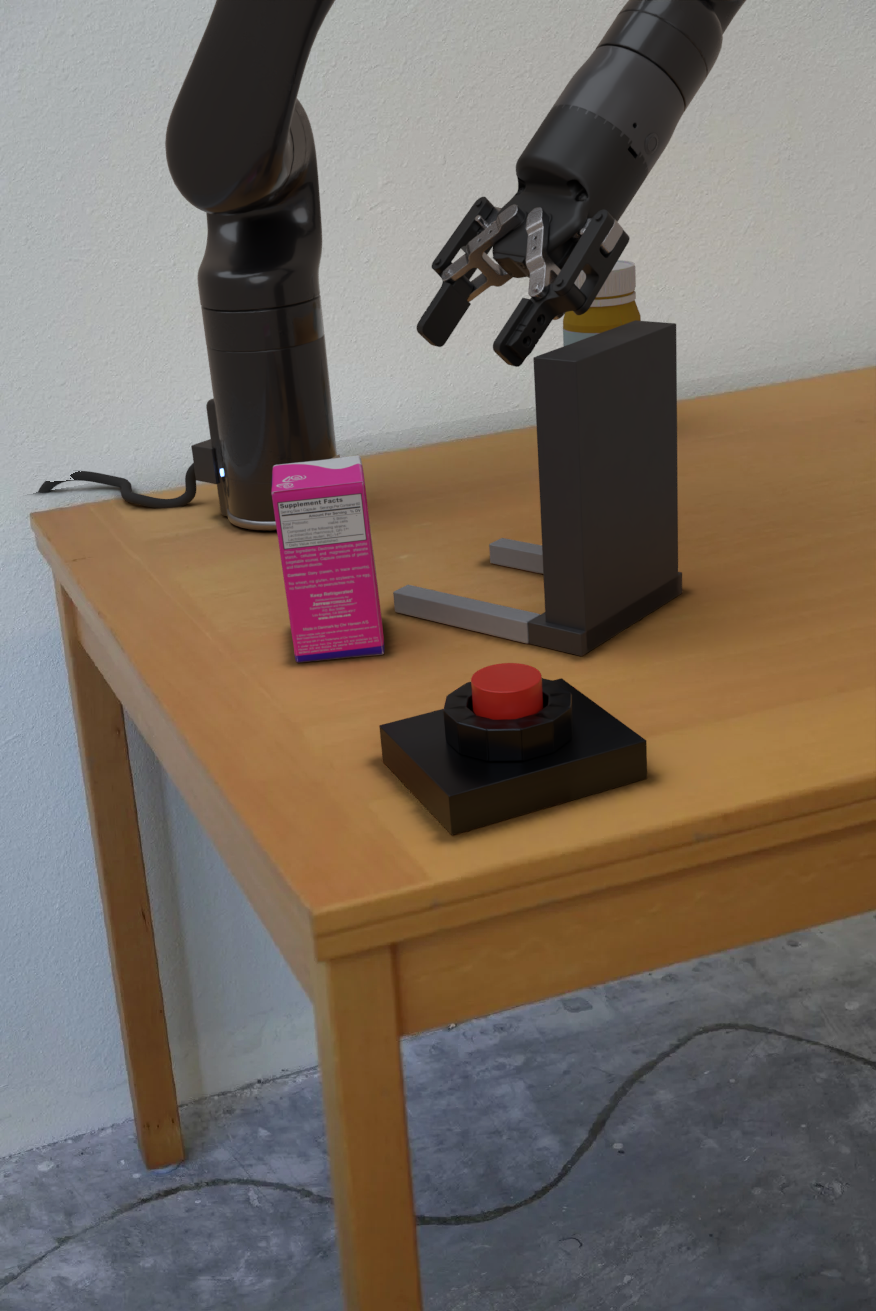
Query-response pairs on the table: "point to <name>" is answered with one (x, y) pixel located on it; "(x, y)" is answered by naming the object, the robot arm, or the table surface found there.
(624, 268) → the bottle
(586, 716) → the control block
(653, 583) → the upright panel stand
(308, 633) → the supplement box
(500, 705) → the red button
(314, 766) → the table surface
